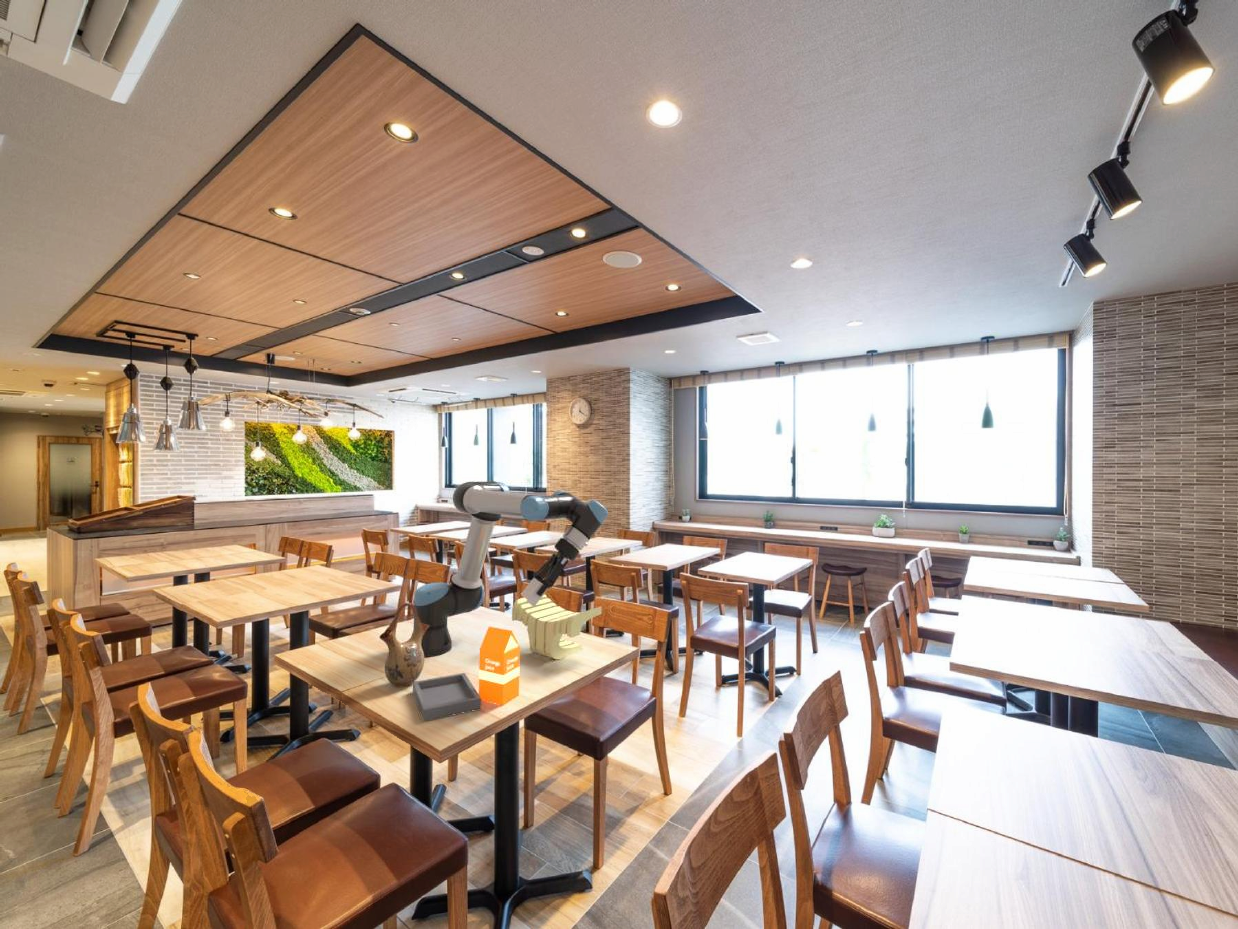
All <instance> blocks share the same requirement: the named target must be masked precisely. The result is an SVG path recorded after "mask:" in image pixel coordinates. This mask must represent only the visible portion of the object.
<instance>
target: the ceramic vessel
mask: <svg viewBox="0 0 1238 929" xmlns="http://www.w3.org/2000/svg"><path fill="white" fill-rule="evenodd" d="M407 607H410V608H411V610H412V614H413V622H414V621H415V629H414V628H413V629H414V633H413V632H412V633H413V635H412V634H411V636H412V637H411V636H410V638H409V639H407V640H406V641H404V642H399V641H398V639H397V637H396V634H397V633H396V632H397V626H398V621H399V618H400V615H401V612H402V610H403V609H404V608H407ZM429 626H430V625H427V624H423V623H421V621H420V619H419V617H418V614H417V611H416V609H415V606H414V603H411V602H404V603H402V604H401V605H399V607H398V608H397V610H396V613H395V615H394V617H393V618H392V621H391V622H390V624H389V625H388V627H387V628H386V629H385V631H383V633H381V634H380V635H379V639H380V640H381V641H383V642H384V643H385V644H386V646H387V648H388V654H387V656H386V659H385V662H384V673H385V677H386V679H387V681H388V682H389V683H390V684H391V685H392V686H393V687H397V688H404V687H407V686H411V685H413V682H416V680H417V679H418V678H419V677H420V675H421V674H422V672H423V670H424V666H425V657H424V652H423V650H422V647H421V641H422V637H423V635H424V633H425V632H426V630H427V629H428V628H429Z"/></svg>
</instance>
